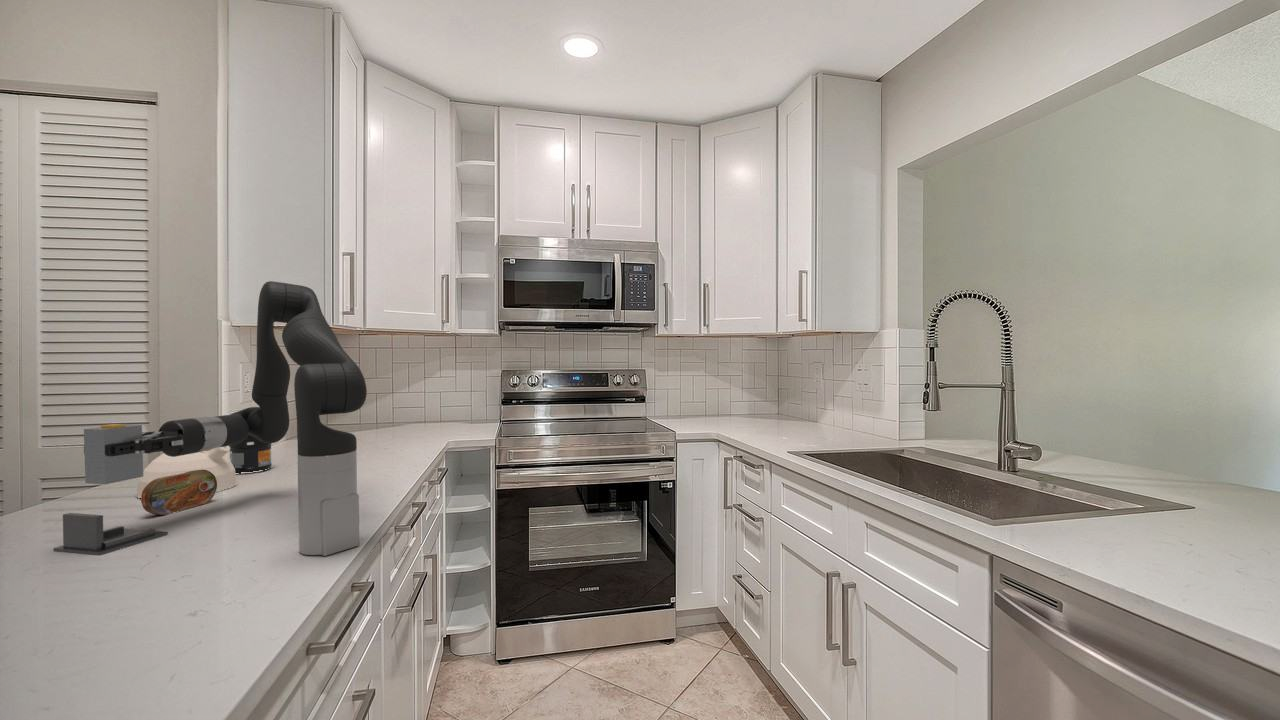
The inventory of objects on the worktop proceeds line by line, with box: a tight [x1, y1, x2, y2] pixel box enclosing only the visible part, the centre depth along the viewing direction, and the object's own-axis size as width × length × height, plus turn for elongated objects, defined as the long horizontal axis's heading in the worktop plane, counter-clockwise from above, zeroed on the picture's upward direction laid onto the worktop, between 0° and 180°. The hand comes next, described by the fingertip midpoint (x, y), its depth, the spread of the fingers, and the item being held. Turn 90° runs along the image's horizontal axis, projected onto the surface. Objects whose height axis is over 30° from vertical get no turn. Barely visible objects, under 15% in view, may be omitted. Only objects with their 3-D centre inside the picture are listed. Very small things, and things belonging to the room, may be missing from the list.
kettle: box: [136, 446, 238, 497], centre depth 139 cm, size 20×21×18 cm
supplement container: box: [229, 435, 273, 473], centre depth 162 cm, size 10×10×12 cm
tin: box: [140, 470, 217, 516], centre depth 121 cm, size 15×3×8 cm, turn 168°
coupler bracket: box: [53, 512, 169, 556], centre depth 99 cm, size 11×11×6 cm
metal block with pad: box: [83, 423, 144, 485], centre depth 99 cm, size 6×5×10 cm
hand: (97, 450), depth 97 cm, fingers closed on metal block with pad, 5 cm apart
